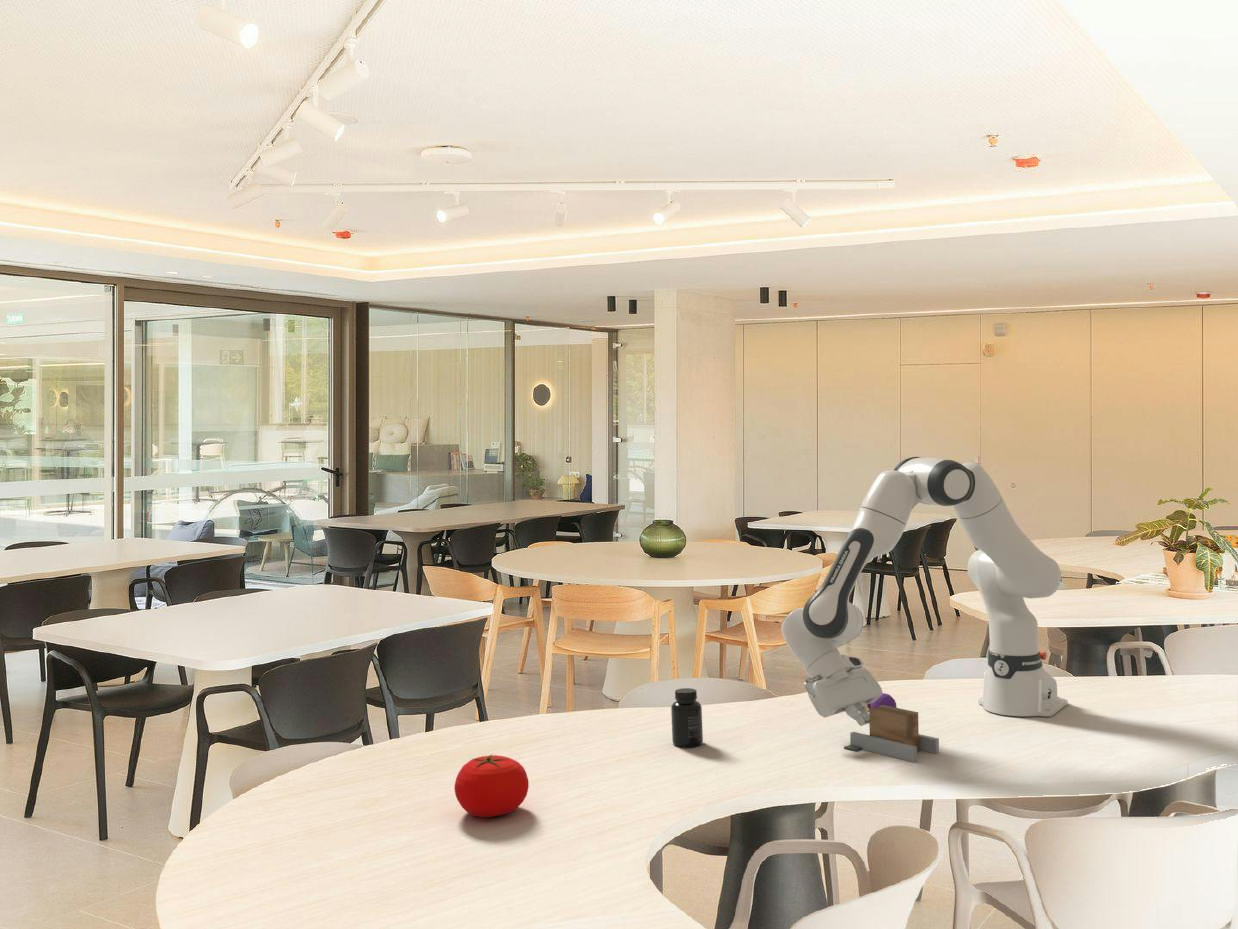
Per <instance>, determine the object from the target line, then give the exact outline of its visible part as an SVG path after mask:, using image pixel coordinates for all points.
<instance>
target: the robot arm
mask: <svg viewBox="0 0 1238 929" xmlns="http://www.w3.org/2000/svg"><path fill="white" fill-rule="evenodd" d="M919 503H920V504H924V505H928V506H930V505H931V506H932V505H933V506H942V507H951V506H952V508H953V510H954V511H955V514H956V515H957V517H958V519H959V521H960V524H961V525H962V528H963V529H964V532H966V535H967V537H968V539H969V541H970V543H972V544H973V545H974V546H975V547H976V548H977V550H976V551H974V552H973V553H972V554H971V555H970V557H969V559H968V562H967V566H966V568H967V569H966V570H967V575H968V577H969V580H970V581H971V582H972V583H973V584H974V586H975V587H976V589H977V590H978V592H979V594H980V595H981V598H982V602H983V604H984V607H985V610H986V613H987V619H988V632H989V638H988V639H989V649H988V651H987V657H986V658H987V665H988V666H989V667H988V668H987V669H986V670H985V671H984V673H983V681H982V682H983V684H982V686H983V687H982V697H980V698H978V702H977V703H978V704H979V705H981V706H982V708H983V710H986V711H987V712H990V713H993V714H998V715H1002V716H1009V717H1052V716H1054V715H1055V714H1057V713H1058V712H1059V711H1060V710H1062V709H1064V708H1065V707H1066V706H1068V699H1066V698H1064V697H1061V696H1058V684H1057V683H1058V682H1057V680H1056V679H1055V678H1054V677H1053V676H1052V675H1051V674H1050V673H1048V671H1046V670H1045V668H1043V666H1044V665H1043V662H1042V660H1044V661H1045V660H1046V659H1047V657H1048V654H1047V651H1045V650H1044V651H1041V650H1039V628H1038V626H1039V624H1038V620H1037V618H1036V616H1035V615H1034V614H1033V613H1032V612H1031V611H1030V609H1029V608H1028V607H1027V604H1026V602H1025V598H1027V599H1042V598H1048V597H1051V596H1052V595H1053V594H1055V593H1056V592H1057V591H1058V589H1059V587H1060V585H1061V581H1062V573H1061V568H1060V566H1059V564H1058V562H1057V561H1056V560H1054V558H1051V557H1049V555H1047V554H1045V553H1044V552H1043V551H1042V550H1041V549H1039V547H1038V546H1037V545H1035V543H1034V542H1032V541H1031V539H1030V538H1029V537H1028V536H1027V534H1025V532H1023V531H1022V529H1021V528H1020V527H1019V526H1018V524H1017V522H1016V521H1015V519H1014V518H1013V516H1012V513H1011V512H1010V509H1009V508H1008V506H1007V504H1006V502H1005V499H1004V498H1003V497H1002V494H1001V492H1000V491H999V488H998V487H997V485H996V484H995V482H994V480H993V479H992V477H991V476H990V475H989V473H988V472H987V471H986V470H985V469H984V467H982V465H981V464H979V463H976V462H971V461H968V462H963V463H960V462H958V461H955V460H952V459H945V458H940V457H934V456H931V457H930V456H929V457H924V456H923V457H920V456H912V457H908V458H905V459H903V460H901V461H900V462H899V463H898V464H896V466H895V468H894V469H891V470H890V469H888V470H884V471H882V472H880V473H879V474H878V476H877V477H876V478H875V480H874V481H873V483H872V484H871V486H870V487H869V489H868V490H867V492H866V494H865V496H864V498H863V501H862V503H861V504H860V507H859V509H858V512H857V514H856V517H855V519H854V521H853V524H852V526H851V528H850V531H849V532H848V535H847V536H846V538H845V540H844V541H843V544H842V546H841V547H840V548H839V551H838V553H837V555H836V556H835V559H834V560H833V562H832V565H831V567H830V568H829V570H828V572H827V574H826V577H825V578H824V580H823V581H822V584H821V585H820V587H819V588H818V589H816V591H815V592H814V593H813V594H812V595H811V596H810V597H809V598H808V599H807V601H806V602H805V604H804V606H803V607H797V608H795V609H794V610H792V611H790V613H788V614H787V615H786V616H785V618H784V619H783V622H782V623H781V627H780V631H781V634H782V637H783V639H784V641H785V643H786V644H787V646H788V648H789V649H790V651H791V652H792V654H793V656H794V657H795V658H796V659H797V660H798V661H799V662H800V663H801V664H802V666H803V668H804V670H805V673H806V674H807V676H808V678H805V680H804V689H805V691H806V692H807V695H808V698H809V700H810V702H811V704H812V705H813V707H814V709H815V710H816V712H817V714H818V715H819V716H821V717H822V718H827V717H828V718H829V717H831V716H834V715H838V714H840V713H846V715H847V716H848V717H849V718H851V719H853V720H854V721H856V722H857V724H858V725H859V726H860V727H863V726H866V725H868V724H869V709H868V708H867V704H870V703H873V702H875V701H877V700H878V699H879V698H880V697H881V696H882V694H883V693H884V692H883V688H882V687H881V685H880V683H879V682H878V680H876V678H875V677H874V675H873V674H872V673H871V672H870V671H869V670H868V669H867V668H866V667H864V664H865V663H864V662H863V660H862V659H861V658H860V657H855V656H849V655H846V654H841V652H840V651H839V649H838V648H840V647H842V646H844V645H845V644H848V643H849V642H851V641H853V640H854V639H856V638H857V637H858V636H860V633H861V632H862V630H863V627H864V616H863V613H862V612H861V610H860V608H859V607H857V606H856V605H855V604H853V603H852V602H850V601H849V598H850V595H851V594H852V592H853V590H854V587H855V585H856V583H857V581H858V579H859V577H860V575H861V573H862V571H863V570H864V567H865V566H866V565H867V564H868V563H869V562H870V561H871V560H873V559H874V558H876V557H879V556H883V555H886V554H888V553H890V552H891V551H893V549H894V548H895V547H896V545H897V543H898V542H899V541H900V539H901V537H902V535H903V533H904V531H905V528H906V526H907V524H908V521H909V519H910V515H911V514H912V513H911V512H912V511H913V509H914V508H915V507H916V506H917V505H918V504H919Z"/></svg>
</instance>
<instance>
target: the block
mask: <svg viewBox="0 0 1238 929" xmlns="http://www.w3.org/2000/svg"><path fill="white" fill-rule="evenodd" d="M868 714H869V735H870V736H874V737H878V738H882V739H887V740H891V741H895V742H899V743H903V744H908V745H912V746H916V747H917V753H919V751H920V750H919V734H920V732H919V728H920V727H919V712H918V711H914V710H909V709H904V708H899V707H896V708H895V707H891V706H886V705H881V706H878V707H875V708H871V709H868Z"/></svg>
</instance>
